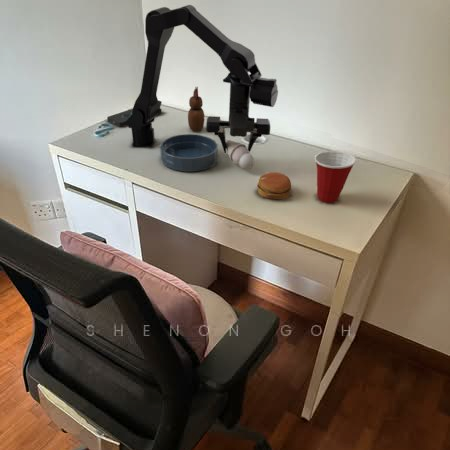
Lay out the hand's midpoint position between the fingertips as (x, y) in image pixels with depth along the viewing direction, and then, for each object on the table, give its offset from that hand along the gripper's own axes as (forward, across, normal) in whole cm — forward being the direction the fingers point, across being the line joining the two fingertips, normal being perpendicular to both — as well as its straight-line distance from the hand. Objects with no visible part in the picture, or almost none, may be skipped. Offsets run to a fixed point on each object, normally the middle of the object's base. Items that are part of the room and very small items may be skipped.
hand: (236, 153), depth 129 cm
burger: (+4, +11, -17) cm, 20 cm away
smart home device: (+4, -38, +36) cm, 52 cm away
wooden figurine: (+4, -14, +26) cm, 30 cm away
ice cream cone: (+2, 0, -1) cm, 3 cm away
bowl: (+4, -15, +2) cm, 15 cm away
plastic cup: (+3, +26, -19) cm, 32 cm away
